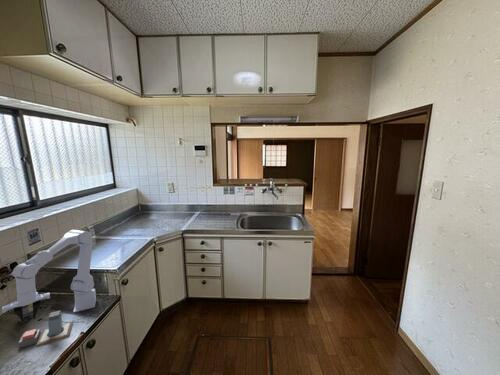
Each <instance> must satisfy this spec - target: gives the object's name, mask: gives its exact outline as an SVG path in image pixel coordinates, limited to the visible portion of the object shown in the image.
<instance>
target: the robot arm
mask: <svg viewBox="0 0 500 375" xmlns="http://www.w3.org/2000/svg"><path fill="white" fill-rule="evenodd" d="M92 236H93V234H92V233H91V232H90V231H88V230H77V229H71V230H69V231H68V232H66V233H64V235H63V237H62V238H61V239H59V240H58V241H57V242H56V243H54V244H53V245H52V246H51V247H49V248H48V249H46V250H45V249H44V250H40V251H38V252H36V254H35V255H33V256H32V257H30V258H29V259H27V260H26V261H25V262H23V263H19V264H18V265H16V266H15V267H14V268H13V270H12V272H10V274H11V276H12V277H14V279H15V286H16V301H13V302H11V303H8V304H6V305H4V306H2V308H1V310H2V311H1V312H2V314H3V313H7V311H8V312H9V311H10V310H13V312H14V314H15V315H16V316H18V319H19V318H20V319H21V321H20V322H21V324H22V323H25V321H24V316H23V309H22V306H25V305H28V304H31V303H33V311H32V314H33V317H32V318H33V319H36V315H37V312H38V309H39V307H40V306H41V301H43V300H46V299H47V300H48V299H51V293H50V292H47V293H41V294H38V295H36V292H37V288H36V275H37V274H38V272H39V271H40V269H41V268H42V267H44V266H45V265H47V263H49V262H51V260H53V258H54V255H56V254H57V253H59V252H60V251H61V250H63V249H65V248H66V247H67V246H69V245H75V244H77V246H79V253H78V254H79V255H78V264H77V273H76V275H75V276H74V277H73V278H72V282H71V284H70V290H71V291H73V294H74V308H73V310H72V311H73V313H78V312H81V311H85V310H88V309H92V308H95V307H96V302H97V296H96V295H97V294H96V293H97V292H96V291H97V290H96V288H94V287H95V282H94V276H93V275H91V274H90V271H91V262H92V252H93V242H94V240H93V238H92Z"/></svg>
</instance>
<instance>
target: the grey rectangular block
mask: <svg viewBox="0 0 500 375" xmlns="http://www.w3.org/2000/svg"><path fill="white" fill-rule="evenodd" d="M62 316H63V315H62V312H61V310H57V311H52V312H50V313H49V316H48V321H47V324H48V325H47V326H48V327H47V328H49V336H52V335H55V334H58V333H61V330H62V324H63V320H62V319H63V318H62Z"/></svg>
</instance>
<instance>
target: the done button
mask: <svg viewBox="0 0 500 375" xmlns="http://www.w3.org/2000/svg"><path fill="white" fill-rule="evenodd" d="M36 330H37V328H34V329H30V330H27V331H25V332H24V333H23V334H24V335H23V334H22V335H23V337H22V336H21V337H22V338H23V340H26V339H30V338H33V337H35V335H36V333H37V331H36Z"/></svg>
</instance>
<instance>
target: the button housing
mask: <svg viewBox="0 0 500 375" xmlns="http://www.w3.org/2000/svg"><path fill="white" fill-rule="evenodd" d="M36 331H37V333H36V335H35V337H33V338H30V339H26V340H23V338H22V337H23V335H24V333H22V335H21V337H20V339H19V341H18V349H21V348H23V347H27V346H30V345H34V344H35V345H36V344H37V342H38V340H39V338H40V335H41V329H39V328H38V329H36Z"/></svg>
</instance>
